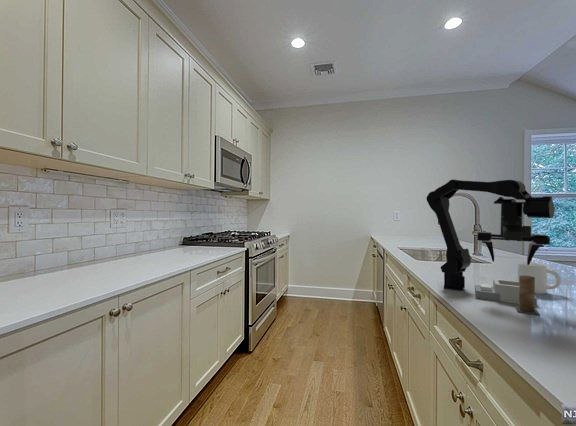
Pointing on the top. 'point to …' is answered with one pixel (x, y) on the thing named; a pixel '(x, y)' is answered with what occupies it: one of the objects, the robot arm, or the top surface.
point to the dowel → (527, 293)
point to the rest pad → (526, 311)
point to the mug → (538, 275)
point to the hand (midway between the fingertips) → (510, 263)
